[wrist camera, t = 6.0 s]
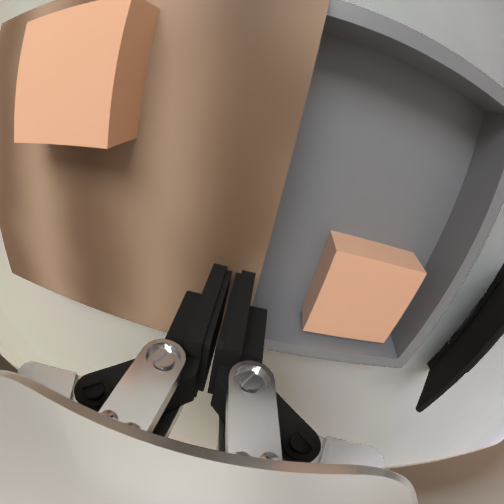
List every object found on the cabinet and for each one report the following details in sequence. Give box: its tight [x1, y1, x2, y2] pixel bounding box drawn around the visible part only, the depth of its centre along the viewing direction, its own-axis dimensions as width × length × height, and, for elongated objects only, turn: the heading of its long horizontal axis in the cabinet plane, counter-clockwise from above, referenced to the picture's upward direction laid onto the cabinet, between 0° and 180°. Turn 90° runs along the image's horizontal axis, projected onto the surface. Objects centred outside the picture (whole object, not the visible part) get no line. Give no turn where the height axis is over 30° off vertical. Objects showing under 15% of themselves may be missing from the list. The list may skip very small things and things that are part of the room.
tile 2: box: [14, 0, 160, 149], centre depth 7 cm, size 5×5×2 cm
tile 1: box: [302, 230, 427, 343], centre depth 14 cm, size 5×5×2 cm
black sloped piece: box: [416, 264, 504, 412], centre depth 14 cm, size 12×7×10 cm
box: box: [252, 0, 504, 368], centre depth 12 cm, size 10×16×4 cm, turn 168°
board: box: [0, 0, 330, 345], centre depth 11 cm, size 16×16×4 cm
